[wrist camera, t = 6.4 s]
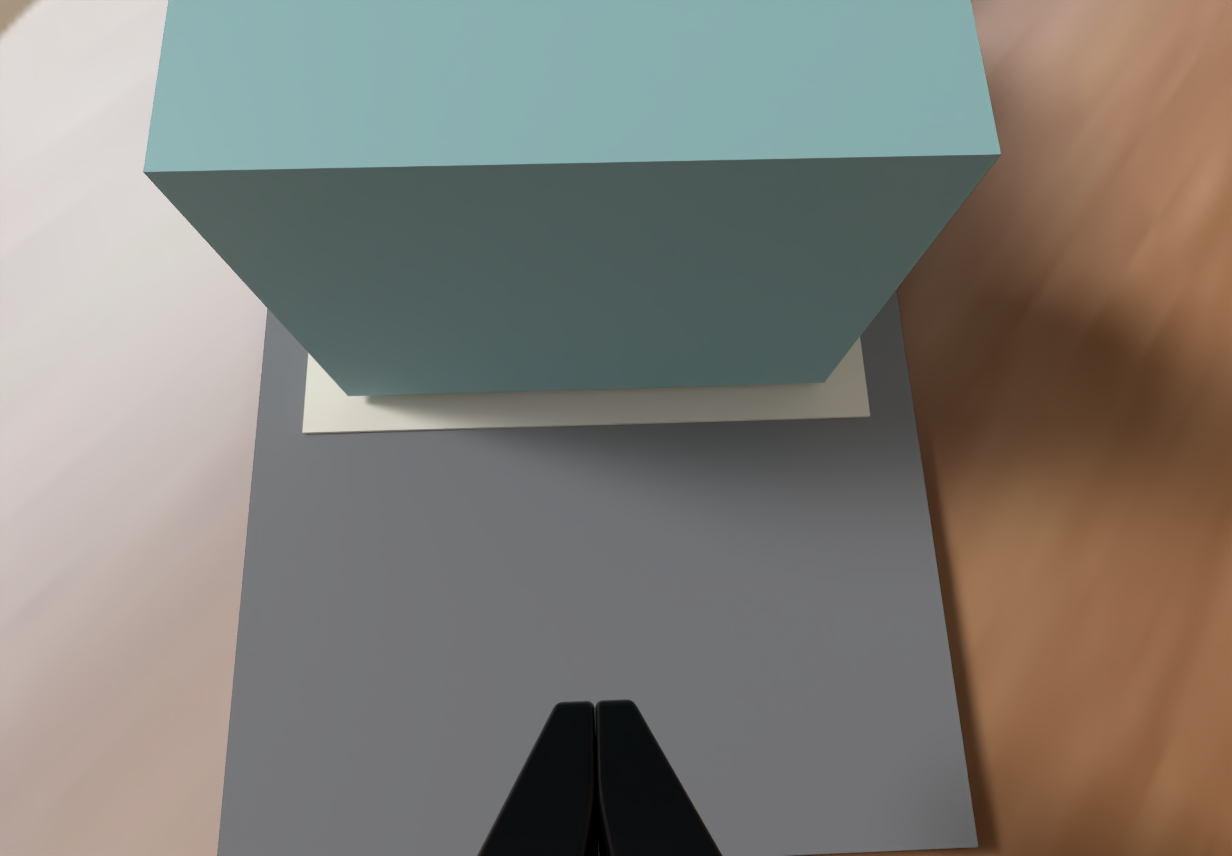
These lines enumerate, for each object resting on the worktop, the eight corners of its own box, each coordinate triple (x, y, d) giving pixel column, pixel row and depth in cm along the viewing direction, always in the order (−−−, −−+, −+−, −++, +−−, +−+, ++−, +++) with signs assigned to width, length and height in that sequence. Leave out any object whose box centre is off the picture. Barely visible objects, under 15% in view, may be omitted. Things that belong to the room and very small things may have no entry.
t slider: (824, 382, 17) (1001, 154, 10) (348, 395, 17) (143, 171, 9) (777, -20, 20) (884, -436, 13) (372, -13, 20) (232, -436, 12)
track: (966, 841, 16) (1066, 887, 12) (227, 874, 15) (122, 931, 12) (836, -63, 22) (879, -196, 19) (309, -57, 22) (255, -191, 18)
